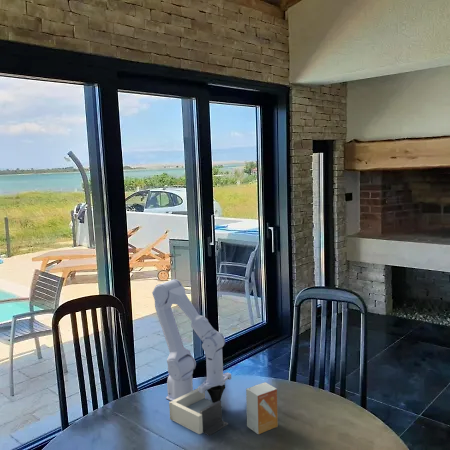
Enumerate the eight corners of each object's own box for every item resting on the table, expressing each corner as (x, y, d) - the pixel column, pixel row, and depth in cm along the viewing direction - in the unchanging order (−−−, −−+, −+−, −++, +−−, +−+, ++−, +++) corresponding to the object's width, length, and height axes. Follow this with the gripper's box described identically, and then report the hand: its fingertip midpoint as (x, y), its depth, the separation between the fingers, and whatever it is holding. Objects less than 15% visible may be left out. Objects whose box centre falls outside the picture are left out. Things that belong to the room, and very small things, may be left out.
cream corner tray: (170, 419, 157) (169, 402, 157) (202, 402, 168) (201, 386, 168) (199, 434, 147) (198, 416, 147) (232, 415, 158) (231, 398, 158)
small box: (258, 435, 146) (257, 395, 144) (246, 426, 151) (245, 388, 150) (278, 426, 150) (277, 388, 149) (266, 418, 155) (265, 381, 154)
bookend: (200, 431, 149) (199, 410, 148) (219, 420, 155) (218, 400, 155) (209, 435, 146) (208, 414, 146) (228, 424, 153) (227, 404, 152)
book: (178, 419, 158) (178, 410, 158) (204, 406, 166) (204, 398, 166) (196, 428, 151) (195, 420, 151) (222, 414, 160) (222, 406, 160)
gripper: (207, 378, 154) (209, 416, 155) (237, 364, 164) (238, 400, 166) (193, 372, 159) (195, 410, 160) (222, 359, 169) (224, 394, 171)
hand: (216, 404), depth 163 cm, fingers closed
